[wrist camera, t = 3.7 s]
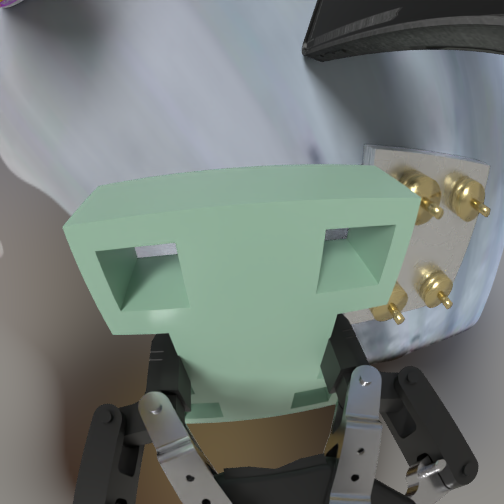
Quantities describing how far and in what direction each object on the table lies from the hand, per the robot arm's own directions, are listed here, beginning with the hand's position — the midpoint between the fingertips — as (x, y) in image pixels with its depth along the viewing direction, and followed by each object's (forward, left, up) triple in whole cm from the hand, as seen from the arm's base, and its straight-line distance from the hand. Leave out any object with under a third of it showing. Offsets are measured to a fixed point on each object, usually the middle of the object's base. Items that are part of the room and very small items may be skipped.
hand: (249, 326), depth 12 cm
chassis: (+1, +16, -8) cm, 18 cm away
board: (0, 0, -1) cm, 1 cm away
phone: (-16, +6, -8) cm, 19 cm away
